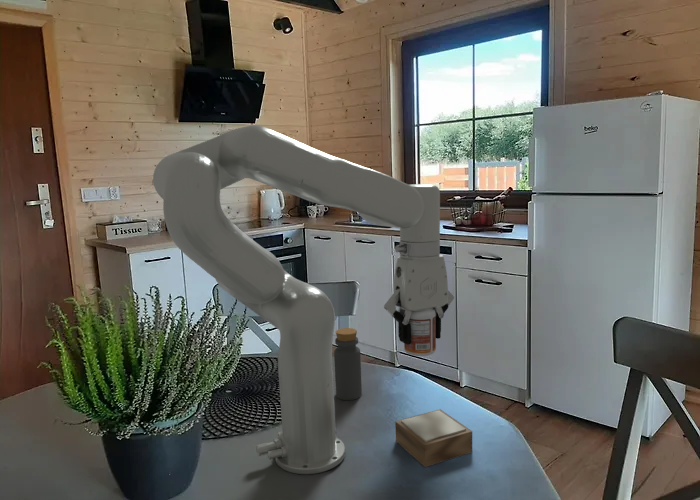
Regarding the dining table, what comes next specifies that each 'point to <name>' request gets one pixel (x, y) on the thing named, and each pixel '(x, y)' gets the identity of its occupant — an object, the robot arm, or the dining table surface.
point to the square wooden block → (433, 437)
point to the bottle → (347, 365)
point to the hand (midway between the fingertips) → (420, 338)
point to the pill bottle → (422, 333)
